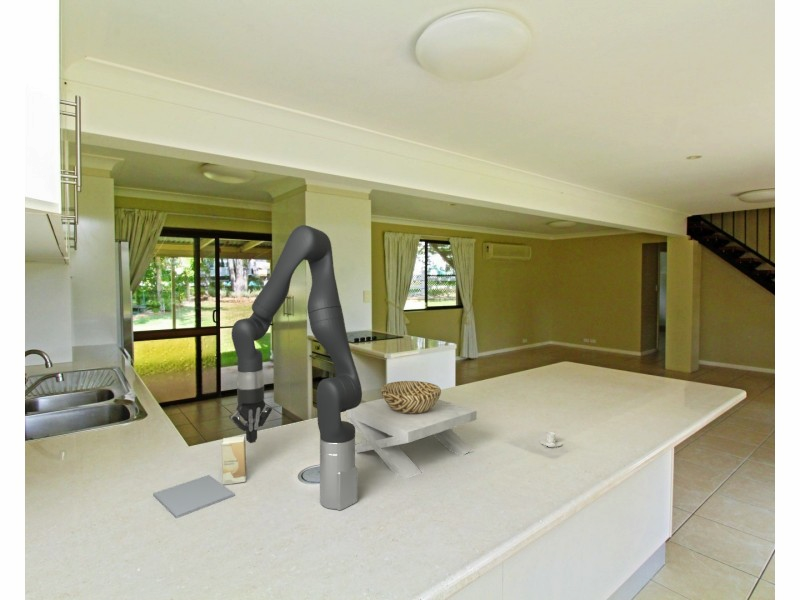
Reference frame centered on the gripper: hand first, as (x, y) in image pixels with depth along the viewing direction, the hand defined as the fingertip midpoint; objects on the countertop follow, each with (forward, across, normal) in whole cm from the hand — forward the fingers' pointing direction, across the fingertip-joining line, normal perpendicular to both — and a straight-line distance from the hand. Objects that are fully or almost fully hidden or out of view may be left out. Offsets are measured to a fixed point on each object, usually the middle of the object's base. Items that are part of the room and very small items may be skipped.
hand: (251, 441), depth 128 cm
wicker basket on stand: (+11, +48, -21) cm, 53 cm away
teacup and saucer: (+12, +85, -52) cm, 100 cm away
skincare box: (+10, -6, 0) cm, 11 cm away
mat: (+10, -17, 0) cm, 20 cm away
